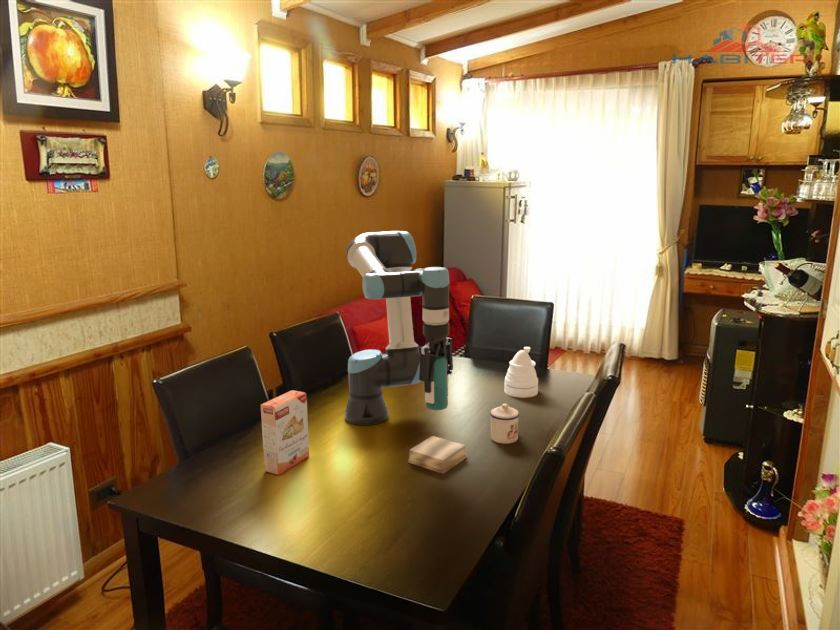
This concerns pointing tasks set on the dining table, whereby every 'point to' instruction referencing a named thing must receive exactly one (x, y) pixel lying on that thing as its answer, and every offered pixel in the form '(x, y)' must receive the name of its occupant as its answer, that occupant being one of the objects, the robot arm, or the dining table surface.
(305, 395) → the cracker box
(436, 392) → the beverage bottle
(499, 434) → the teacup with lid
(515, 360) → the honey pot
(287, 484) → the dining table surface
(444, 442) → the tan flat square block
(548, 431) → the dining table surface
